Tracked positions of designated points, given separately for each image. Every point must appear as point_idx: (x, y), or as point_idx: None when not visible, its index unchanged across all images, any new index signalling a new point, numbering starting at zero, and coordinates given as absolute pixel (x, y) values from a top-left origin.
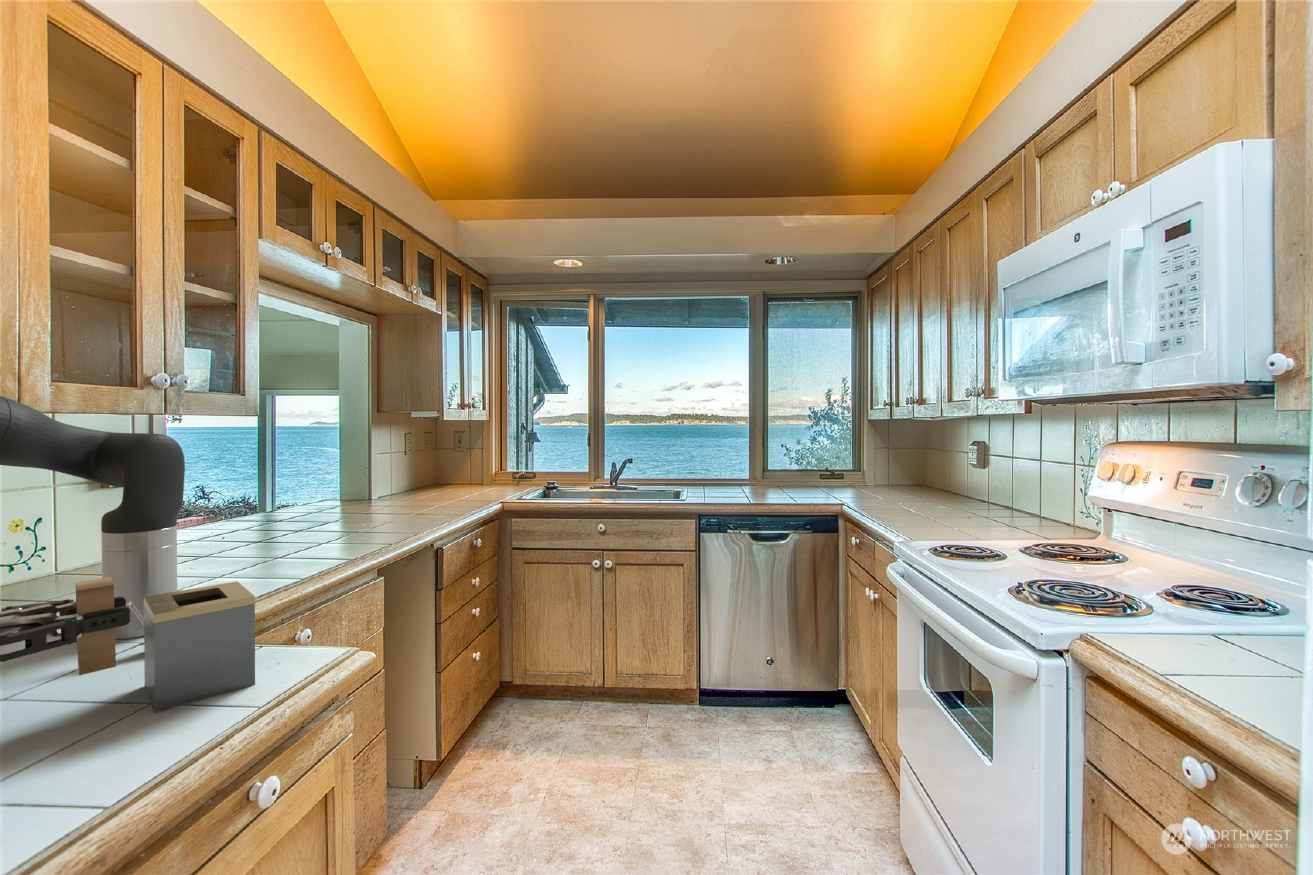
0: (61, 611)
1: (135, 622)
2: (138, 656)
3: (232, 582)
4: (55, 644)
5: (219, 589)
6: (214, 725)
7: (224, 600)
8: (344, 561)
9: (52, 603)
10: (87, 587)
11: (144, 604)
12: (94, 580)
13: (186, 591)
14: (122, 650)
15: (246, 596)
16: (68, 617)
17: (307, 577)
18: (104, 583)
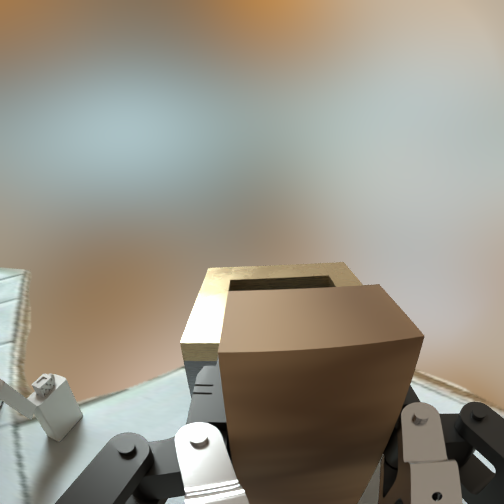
0: (154, 484)
1: (25, 406)
2: (57, 449)
3: (210, 270)
4: (483, 468)
5: (243, 281)
6: (436, 409)
7: (346, 277)
8: (20, 276)
9: (115, 483)
10: (383, 321)
11: (196, 358)
12: (250, 314)
13: (212, 302)
14: (13, 445)
15: (338, 266)
16: (431, 430)
17: (20, 296)
18: (342, 297)
